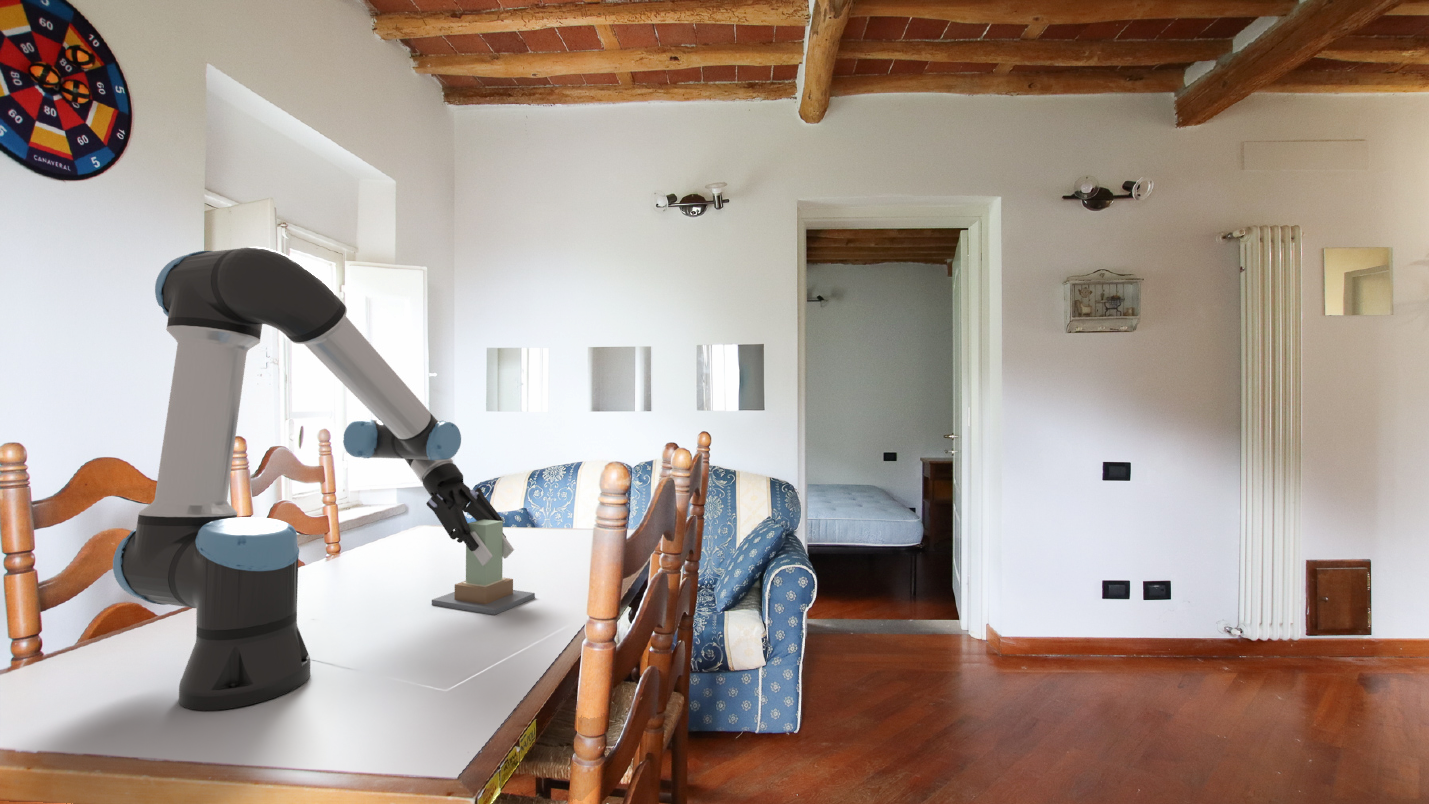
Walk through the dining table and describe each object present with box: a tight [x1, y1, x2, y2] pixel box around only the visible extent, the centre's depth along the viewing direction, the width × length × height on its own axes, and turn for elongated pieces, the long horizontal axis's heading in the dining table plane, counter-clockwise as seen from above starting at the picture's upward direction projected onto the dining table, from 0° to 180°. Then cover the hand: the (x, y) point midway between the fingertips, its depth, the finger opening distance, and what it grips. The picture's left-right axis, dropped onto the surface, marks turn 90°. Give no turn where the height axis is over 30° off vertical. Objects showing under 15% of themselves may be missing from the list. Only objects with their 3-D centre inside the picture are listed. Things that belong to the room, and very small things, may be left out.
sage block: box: [465, 520, 504, 585], centre depth 131 cm, size 5×5×12 cm
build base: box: [431, 577, 536, 616], centre depth 131 cm, size 12×16×4 cm
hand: (498, 557), depth 129 cm, fingers open, 6 cm apart
